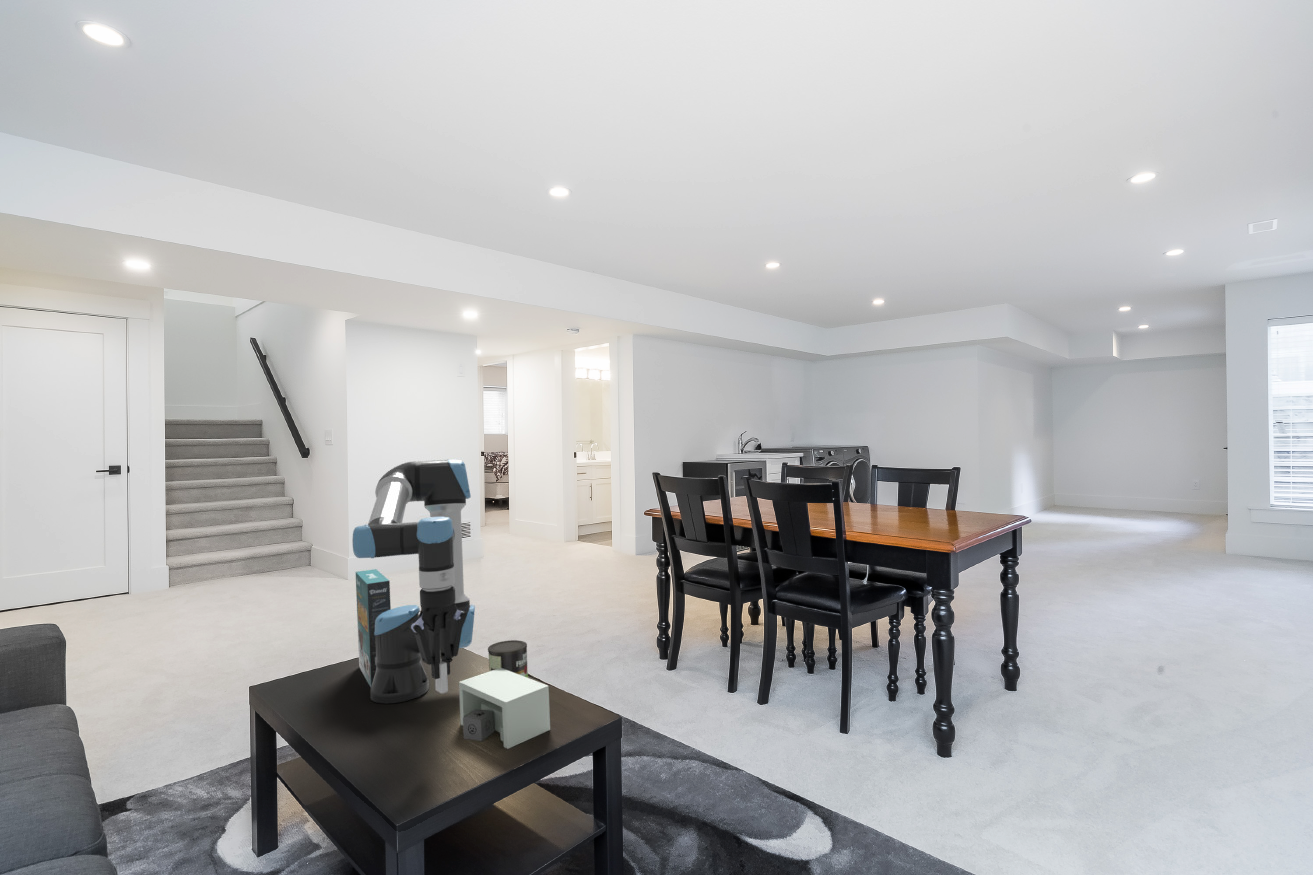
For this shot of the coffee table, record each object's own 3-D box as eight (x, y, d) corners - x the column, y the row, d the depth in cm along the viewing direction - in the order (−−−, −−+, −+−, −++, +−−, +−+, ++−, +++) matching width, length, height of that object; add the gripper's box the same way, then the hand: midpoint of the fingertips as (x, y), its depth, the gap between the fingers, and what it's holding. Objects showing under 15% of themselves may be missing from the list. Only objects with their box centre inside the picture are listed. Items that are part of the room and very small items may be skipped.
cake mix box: (393, 683, 188) (389, 580, 188) (371, 688, 185) (367, 583, 185) (379, 662, 207) (376, 568, 206) (359, 666, 203) (355, 571, 203)
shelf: (460, 724, 159) (458, 681, 159) (502, 707, 168) (500, 667, 168) (507, 748, 145) (505, 702, 145) (550, 729, 154) (548, 685, 154)
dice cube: (481, 741, 150) (480, 719, 150) (463, 738, 151) (462, 717, 151) (494, 731, 154) (493, 710, 154) (476, 729, 156) (475, 708, 156)
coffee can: (534, 691, 178) (532, 640, 178) (519, 706, 168) (517, 652, 168) (500, 689, 180) (498, 639, 180) (483, 705, 170) (480, 651, 170)
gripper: (417, 596, 137) (422, 705, 138) (472, 583, 147) (476, 685, 148) (401, 590, 142) (406, 696, 143) (455, 578, 152) (459, 677, 153)
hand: (441, 690), depth 145 cm, fingers closed
